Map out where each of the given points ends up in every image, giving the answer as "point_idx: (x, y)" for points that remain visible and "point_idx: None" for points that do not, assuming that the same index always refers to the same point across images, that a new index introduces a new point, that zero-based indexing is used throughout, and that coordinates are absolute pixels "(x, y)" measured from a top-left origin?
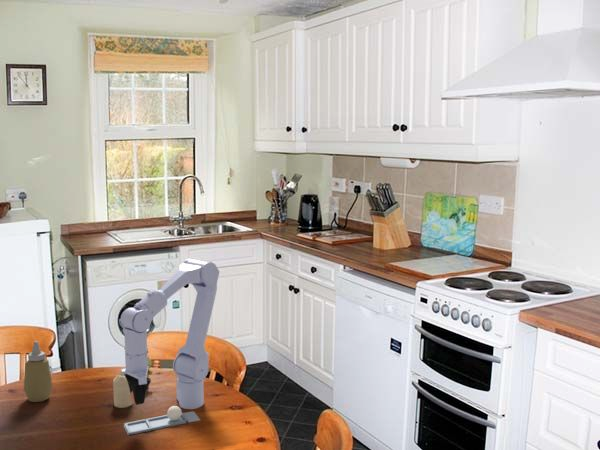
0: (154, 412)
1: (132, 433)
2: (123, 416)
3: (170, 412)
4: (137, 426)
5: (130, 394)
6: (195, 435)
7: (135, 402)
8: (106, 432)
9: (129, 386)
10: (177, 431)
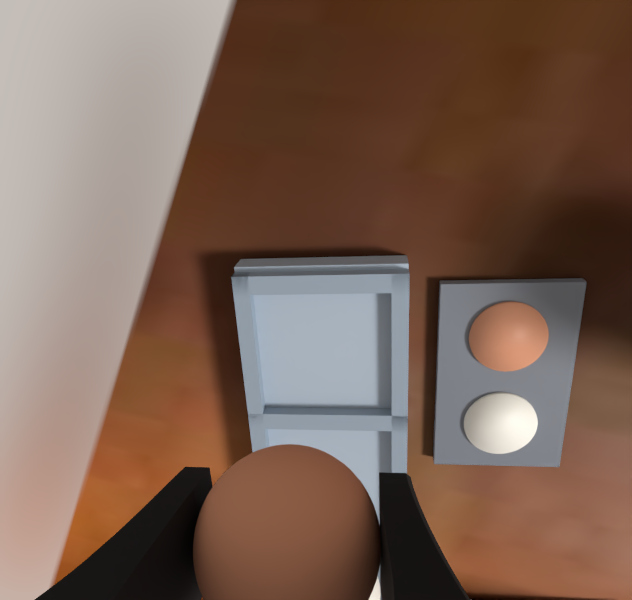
0: (555, 482)
1: (236, 297)
2: (623, 292)
3: None
4: (340, 349)
5: (286, 505)
6: None
7: (171, 481)
8: (404, 123)
9: (395, 589)
10: None
